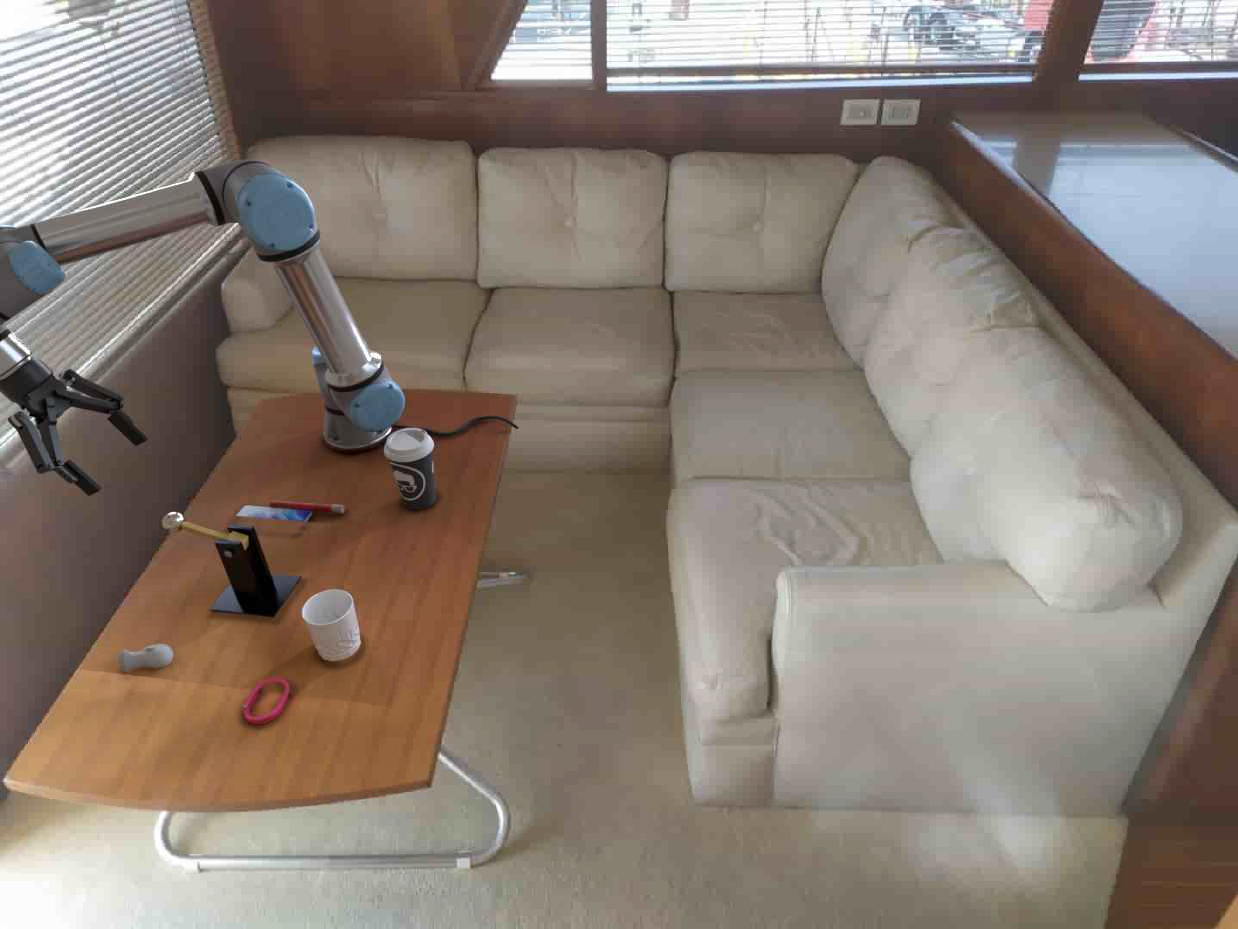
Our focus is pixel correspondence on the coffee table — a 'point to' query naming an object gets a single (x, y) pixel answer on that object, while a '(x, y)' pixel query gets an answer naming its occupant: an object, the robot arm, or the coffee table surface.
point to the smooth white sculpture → (146, 658)
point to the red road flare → (308, 506)
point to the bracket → (250, 578)
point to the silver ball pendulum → (199, 529)
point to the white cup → (332, 624)
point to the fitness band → (255, 695)
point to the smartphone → (274, 513)
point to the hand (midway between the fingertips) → (119, 466)
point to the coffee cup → (412, 466)
